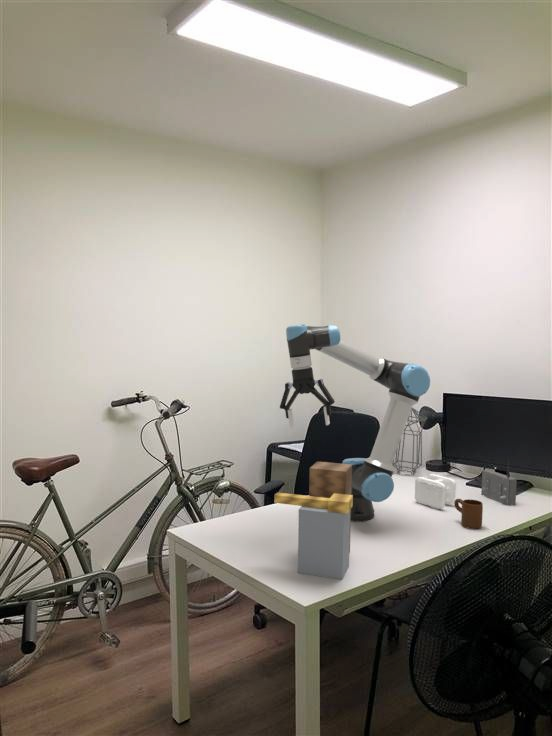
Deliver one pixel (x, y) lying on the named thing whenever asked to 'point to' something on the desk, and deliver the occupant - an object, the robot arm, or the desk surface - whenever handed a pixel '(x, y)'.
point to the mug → (470, 513)
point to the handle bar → (318, 501)
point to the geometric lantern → (413, 442)
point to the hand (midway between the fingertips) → (309, 425)
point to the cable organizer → (435, 491)
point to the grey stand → (323, 542)
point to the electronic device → (499, 486)
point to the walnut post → (330, 480)
